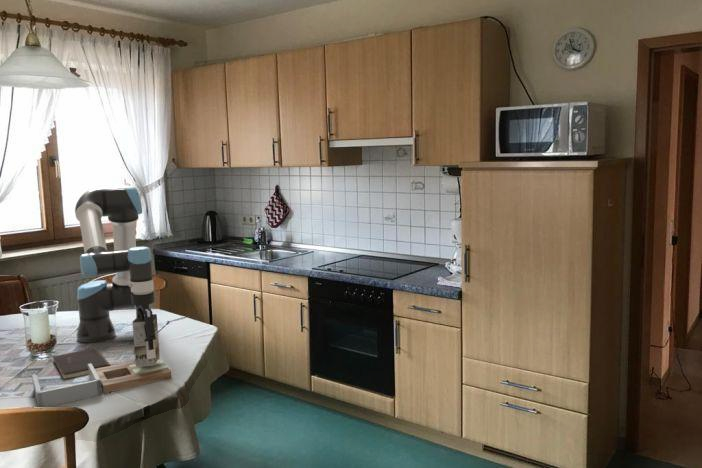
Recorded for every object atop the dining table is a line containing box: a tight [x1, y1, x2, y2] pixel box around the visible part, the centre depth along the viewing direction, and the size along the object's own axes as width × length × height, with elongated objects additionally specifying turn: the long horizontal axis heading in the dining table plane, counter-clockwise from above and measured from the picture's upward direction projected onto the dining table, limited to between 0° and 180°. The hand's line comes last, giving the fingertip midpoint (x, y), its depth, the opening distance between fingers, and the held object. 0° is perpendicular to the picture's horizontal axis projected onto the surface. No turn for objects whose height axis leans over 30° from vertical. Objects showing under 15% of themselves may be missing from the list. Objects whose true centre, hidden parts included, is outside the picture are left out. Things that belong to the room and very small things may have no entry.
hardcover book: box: [52, 347, 112, 380], centre depth 227 cm, size 16×23×2 cm
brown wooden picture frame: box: [95, 357, 172, 394], centre depth 214 cm, size 18×22×3 cm
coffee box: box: [132, 313, 161, 367], centre depth 215 cm, size 9×6×16 cm
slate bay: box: [31, 363, 103, 408], centre depth 202 cm, size 18×18×5 cm
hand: (147, 353), depth 216 cm, fingers closed on coffee box, 10 cm apart
